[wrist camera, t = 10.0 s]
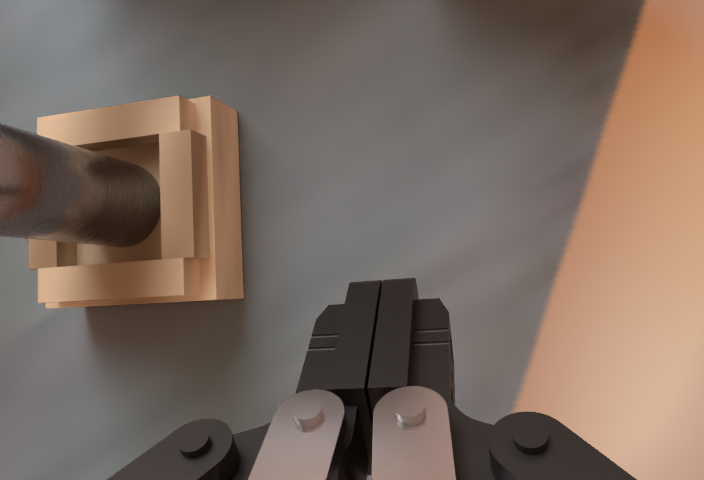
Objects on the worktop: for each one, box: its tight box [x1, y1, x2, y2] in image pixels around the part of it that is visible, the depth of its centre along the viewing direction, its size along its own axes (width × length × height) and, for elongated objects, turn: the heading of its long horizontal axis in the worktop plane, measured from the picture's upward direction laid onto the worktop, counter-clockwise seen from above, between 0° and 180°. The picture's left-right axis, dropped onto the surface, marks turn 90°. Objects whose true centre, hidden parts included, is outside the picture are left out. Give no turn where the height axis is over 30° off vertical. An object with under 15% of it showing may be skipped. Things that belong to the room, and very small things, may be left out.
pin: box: [0, 123, 161, 247], centre depth 18 cm, size 4×4×10 cm
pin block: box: [29, 95, 244, 308], centre depth 23 cm, size 7×7×3 cm
